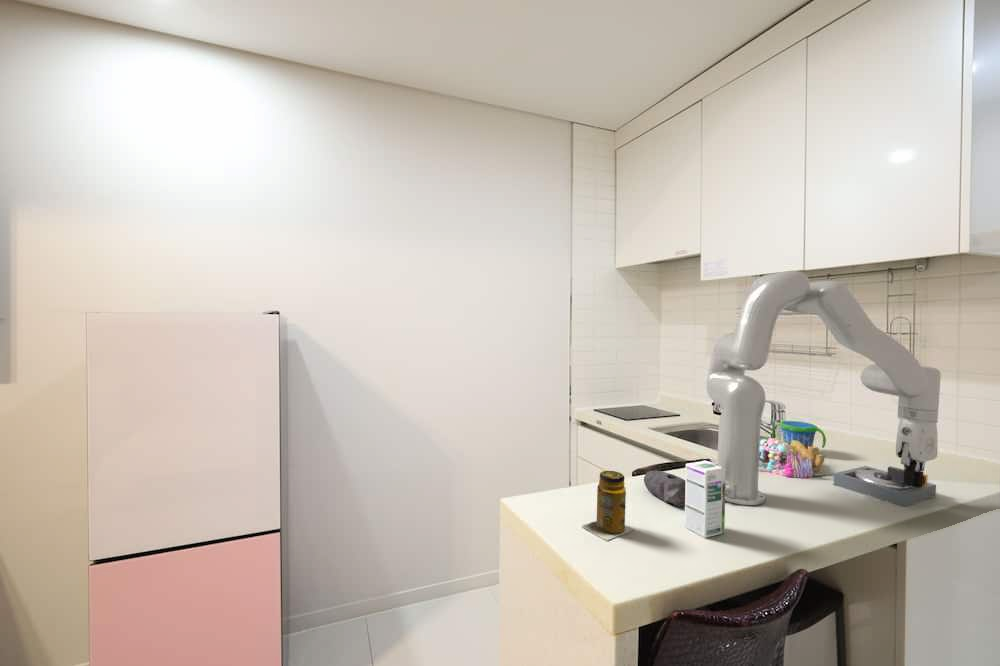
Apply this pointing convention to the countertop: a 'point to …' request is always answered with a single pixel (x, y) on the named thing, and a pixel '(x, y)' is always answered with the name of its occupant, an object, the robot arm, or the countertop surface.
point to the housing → (883, 488)
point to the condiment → (610, 507)
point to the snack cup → (799, 432)
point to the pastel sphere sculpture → (789, 459)
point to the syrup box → (705, 498)
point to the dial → (887, 478)
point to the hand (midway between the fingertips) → (912, 485)
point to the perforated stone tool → (666, 487)
